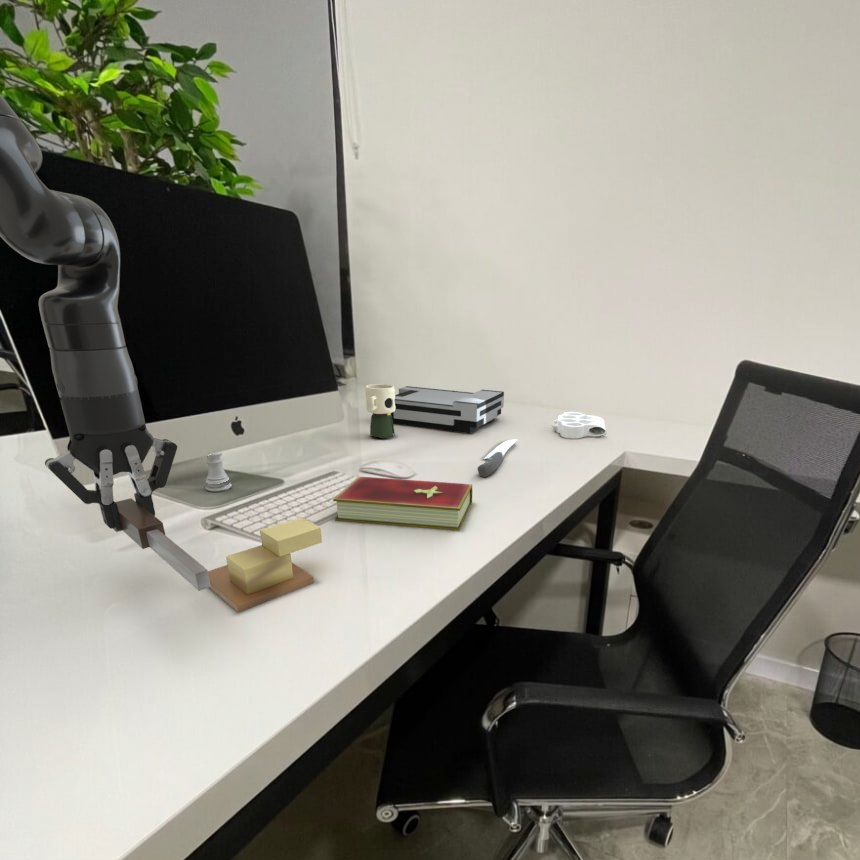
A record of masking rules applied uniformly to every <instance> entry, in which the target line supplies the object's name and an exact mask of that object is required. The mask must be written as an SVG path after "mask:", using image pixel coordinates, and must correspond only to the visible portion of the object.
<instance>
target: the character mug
mask: <svg viewBox="0 0 860 860" xmlns="http://www.w3.org/2000/svg"><path fill="white" fill-rule="evenodd" d="M395 395H396V387H395V385H394V384H387V383H374V384H367V385H365V400H366V401H365V402H366V403H365V404H366V411H367V413H370V414H371V416H370V427H369V436H371V437H375V438H378V439H388V438H389V439H390V438H393V437H394V436H396V433H395V426H394V424H393V420H392V416H391V413H392V412H394V411H395V409H396V406H395Z"/></svg>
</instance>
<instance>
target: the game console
mask: <svg viewBox="0 0 860 860" xmlns="http://www.w3.org/2000/svg"><path fill="white" fill-rule="evenodd" d="M504 399H505V391H503V390H502V391H501V390H490V389H479V390H478V391H475V392H469V391H459V390H449V389H439V388H429V387H421V386H419V387H418V386H410V385H409V386H408V385H406V386H404V387H399V388H398V394H395V406H396V409H395V411H394V412H392V413H391V416H392V420H393V425H397V426H407V427H414V428H423V429H424V428H425V429H430V430H431V429H432V430H437V431H446V432H452V433H453V432H454V433H461V434H472V433H473V432H476V431H478V430H479V427H481V426H483V425H485V424H489V423H491V422H492V421H494V420H496V419H497V417H498V416H500V415H501V414H502V409H503V408H504V407H505V406H504V404H505V403H504V402H505V400H504Z"/></svg>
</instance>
